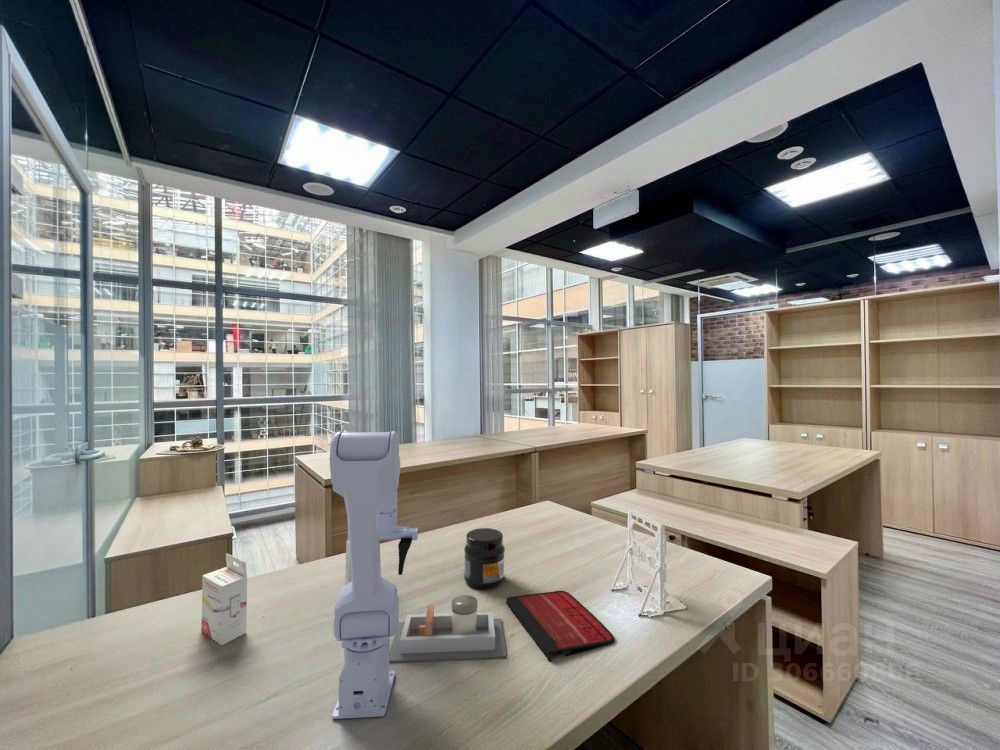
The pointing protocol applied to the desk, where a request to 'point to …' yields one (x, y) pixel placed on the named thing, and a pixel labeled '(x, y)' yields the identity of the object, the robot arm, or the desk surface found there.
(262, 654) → the desk surface
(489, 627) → the base
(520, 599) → the binder
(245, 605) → the ink cartridge box
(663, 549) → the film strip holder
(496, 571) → the supplement container
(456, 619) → the jar
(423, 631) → the pusher
